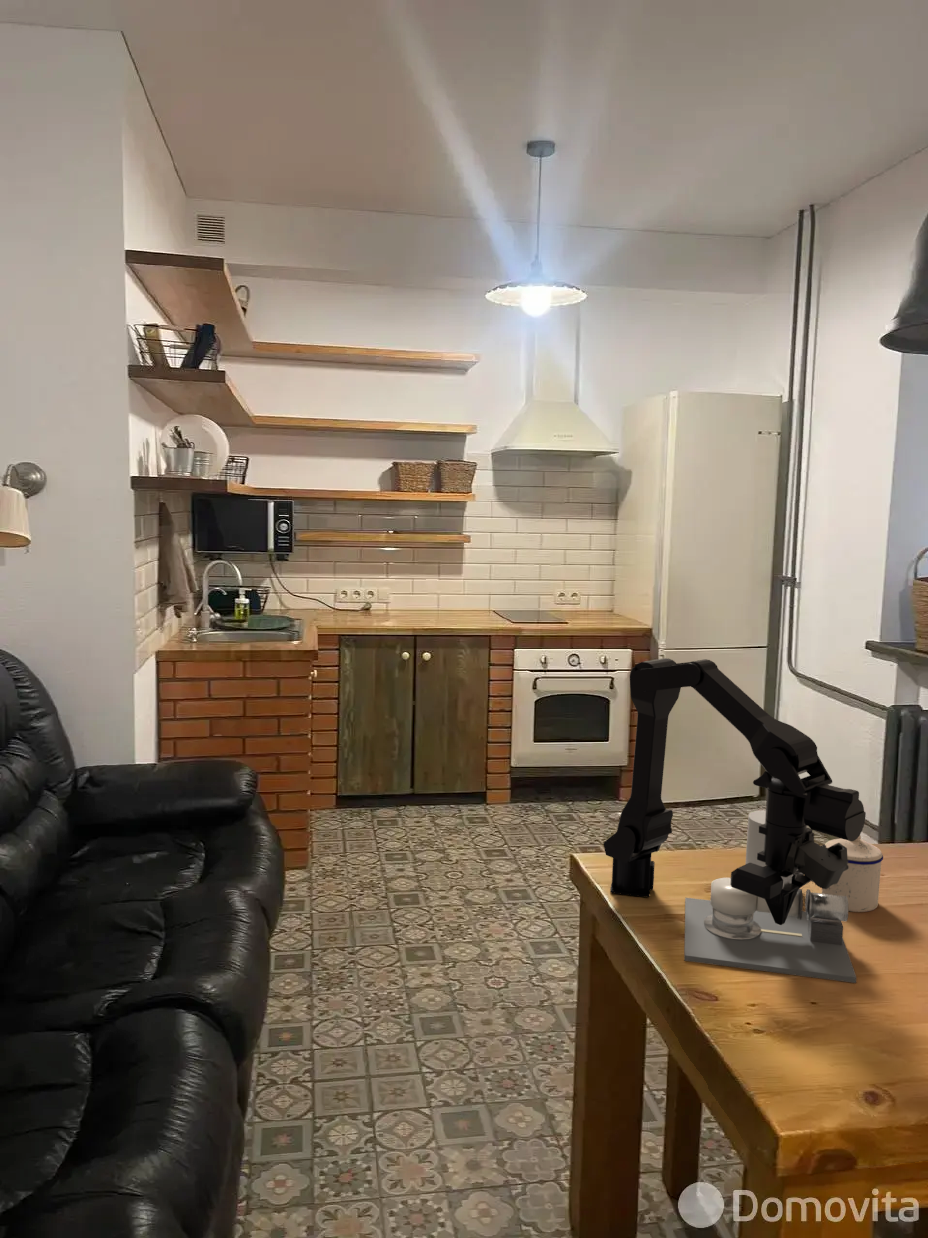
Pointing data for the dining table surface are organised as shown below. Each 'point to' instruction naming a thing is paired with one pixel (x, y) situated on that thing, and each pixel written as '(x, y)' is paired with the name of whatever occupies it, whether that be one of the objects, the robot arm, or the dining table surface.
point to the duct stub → (732, 926)
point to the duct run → (825, 917)
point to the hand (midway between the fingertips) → (779, 923)
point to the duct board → (765, 947)
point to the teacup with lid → (858, 875)
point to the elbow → (745, 900)
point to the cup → (755, 837)
